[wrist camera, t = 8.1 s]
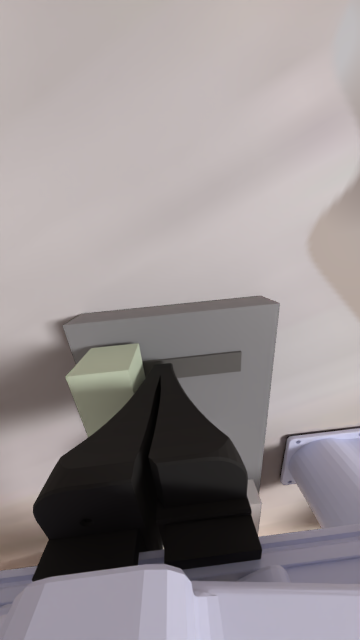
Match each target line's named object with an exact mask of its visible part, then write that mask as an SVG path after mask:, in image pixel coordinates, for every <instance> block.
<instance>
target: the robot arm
mask: <svg viewBox="0 0 360 640" xmlns="http://www.w3.org/2000/svg"><path fill="white" fill-rule="evenodd" d="M280 481H281V483H282V484H283V485H289V484H297V485H298V487H299V489H300V491H301V492H302V494H303V496H304V498H305V499H306V501H307V503H308V505H309V506H310V508H311V510H312V512H313V513H314V515H315V517H316V519H317V521H318V522H319V524H320V526H321V528H322V529H315V530H307V531H300V532H292V533H284V534H277V535H269V536H262V537H258V534H257V531H256V528H255V525H254V522H253V519H252V516H251V514H252V511H251V507H250V503H249V500H248V497H247V486H248V474H247V470H246V468H245V465H244V463H243V461H242V459H241V457H240V455H239V453H238V451H237V449H236V447H235V446H234V444H233V442H232V441H231V439H230V438H229V437H228V436H227V435H225V434H224V433H223V432H222V431H220V430H219V429H218V428H217V427H216V426H215V425H214V424H212V423H211V422H210V421H209V420H208V419H207V418H206V417H205V416H204V415H203V414H202V413H201V412H200V411H199V409H198V408H197V407H196V406H195V405H194V404H193V402H192V401H191V400H190V399H189V397H188V396H187V394H186V393H185V391H184V390H183V388H182V387H181V385H180V383H179V381H178V379H177V377H176V375H175V372H174V369H173V364H172V363H166V364H156V365H153V367H152V368H151V370H150V372H149V373H148V375H147V377H146V378H145V380H144V381H143V383H142V384H141V386H140V387H139V388H138V390H137V391H136V392H135V393H134V395H133V396H132V397H131V398H130V400H129V401H128V402H127V403H126V404H125V405H124V406H123V407H122V409H121V410H120V411H119V412H118V413H116V414H115V415H114V416H113V417H112V418H111V419H110V420H109V421H108V422H107V423H106V424H105V425H103V426H102V427H101V428H100V429H99V430H97V431H96V432H95V433H94V434H92V435H91V436H90V437H88V438H87V439H86V440H84V441H83V442H82V443H80V444H79V445H77V446H76V447H75V448H73V449H72V450H70V451H69V452H68V453H66V454H65V455H63V456H62V457H61V458H60V459H59V461H58V463H57V464H56V466H55V467H54V469H53V471H52V472H51V474H50V476H49V478H48V480H47V482H46V483H45V485H44V487H43V489H42V491H41V492H40V494H39V496H38V498H37V500H36V501H35V503H34V505H33V514H34V517H35V519H36V521H37V523H38V524H39V525H40V527H41V528H42V530H43V531H44V533H45V534H46V536H47V537H48V539H49V541H48V543H47V545H46V548H45V550H44V552H43V555H42V557H41V559H40V562H39V564H38V566H33V567H25V568H18V569H10V570H2V571H0V640H360V428H356V429H348V430H339V431H331V432H322V433H314V434H306V435H297V436H290V437H289V438H288V439H287V443H286V449H285V455H284V461H283V467H282V472H281V478H280ZM163 547H164V549H163Z"/></svg>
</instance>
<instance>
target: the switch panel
mask: <svg viewBox="0 0 360 640" xmlns="http://www.w3.org/2000/svg"><path fill="white" fill-rule="evenodd" d="M279 307H280V303H278V302H275V301H273V300H270V299H268V298H265V297H263V296H253V297H243V298H233V299H223V300H213V301H203V302H194V303H184V304H174V305H164V306H154V307H144V308H134V309H124V310H114V311H104V312H94V313H84V314H81V315H79V316H77V317H76V318H74V319H72V320H71V321H69V322H67V323H66V324H64V325H62V326H63V329H64V331H65V334H66V337H67V340H68V343H69V346H70V349H71V352H72V355H73V357H74V360H75V363H76V364H77V363H78V362H79V361H80V360H81V359H82V358H83V357H84V356H85V354H86V353H87V352H88V351H89V350H90V349H91V348H98V347H107V346H117V345H126V344H136V343H139V347H140V353H141V358H142V363H143V368H144V374H145V378H146V377H147V375H148V373H149V372H150V370H151V368H152V367H153V365H156V364H166V363H172V364H173V369H174V372H175V375H176V377H177V379H178V381H179V383H180V385H181V387H182V388H183V390H184V391H185V393H186V394H187V396H188V397H189V399H190V400H191V401H192V402H193V404H194V405H195V406H196V407H197V408H198V409H199V411H200V412H201V413H202V414H203V415H204V416H205V417H206V418H207V419H208V420H209V421H210V422H211V423H212V424H214V425H215V426H216V427H217V428H218V429H219V430H220V431H222V432H223V433H224V434H225V435H227V436H228V437H229V438H230V439H231V441H232V442H233V444H234V446H235V447H236V449H237V451H238V453H239V455H240V457H241V459H242V461H243V463H244V465H245V468H246V470H247V474H248V486H247V497H248V500H249V503H250V507H251V511H252V514H251V516H252V519H253V522H254V525H255V528H256V531H257V534H258V531H259V523H260V515H261V506H262V502H261V500H260V497H259V488H260V479H261V470H262V461H263V452H264V443H265V434H266V425H267V416H268V407H269V398H270V389H271V380H272V371H273V362H274V352H275V343H276V334H277V325H278V316H279Z"/></svg>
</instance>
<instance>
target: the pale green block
mask: <svg viewBox="0 0 360 640" xmlns="http://www.w3.org/2000/svg"><path fill="white" fill-rule="evenodd" d="M65 378H66V380H67V383H68V385H69V388H70V391H71V393H72V396H73V399H74V401H75V404H76V406H77V409H78V412H79V414H80V417H81V420H82V422H83V425H84V427H85V430H86V433H87V435H88V437H90V436H91V435H92V434H94V433H95V432H96V431H97V430H99V429H100V428H101V427H102V426H103V425H105V424H106V423H107V422H108V421H109V420H110V419H111V418H112V417H113V416H114V415H115V414H116V413H118V412H119V411H120V410H121V409H122V407H123V406H124V405H125V404H126V403H127V402H128V401H129V400H130V398H131V397H132V396H133V395H134V393H135V392H136V391H137V390H138V388H139V387H140V386H141V384H142V383H143V381H144V380H145V374H144V368H143V363H142V358H141V353H140V347H139V343H136V344H126V345H117V346H107V347H98V348H91V349H90V350H89V351H88V352H87V353H86V354H85V356H84V357H83V358H82V359H81V360H80V361H79V362H78V363H77V364H76V366H75V367H74V368H73V369H72V370H71V371H70V372H69V373H68V374H67V375H66V377H65Z"/></svg>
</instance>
